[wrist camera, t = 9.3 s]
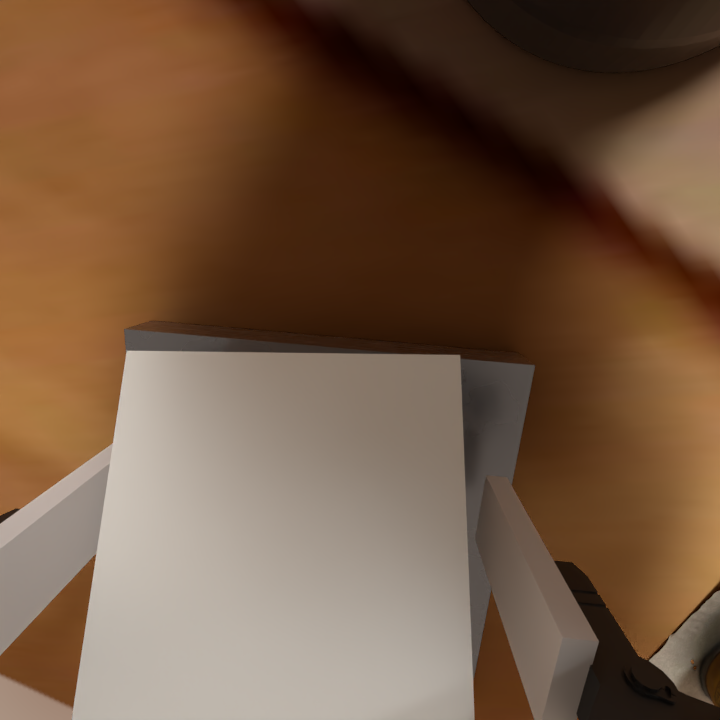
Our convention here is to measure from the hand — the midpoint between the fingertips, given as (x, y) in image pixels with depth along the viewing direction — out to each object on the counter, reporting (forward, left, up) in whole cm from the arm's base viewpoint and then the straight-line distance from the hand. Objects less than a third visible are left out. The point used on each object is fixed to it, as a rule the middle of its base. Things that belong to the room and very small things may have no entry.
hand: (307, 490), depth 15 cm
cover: (0, 0, +1) cm, 1 cm away
